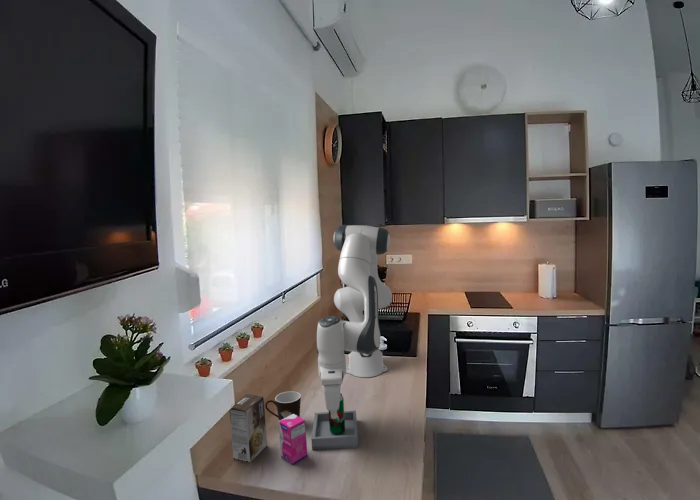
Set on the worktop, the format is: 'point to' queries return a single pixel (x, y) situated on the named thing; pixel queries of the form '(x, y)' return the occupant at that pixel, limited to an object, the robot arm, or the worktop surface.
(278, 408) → the coffee mug
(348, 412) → the tray
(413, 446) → the worktop surface
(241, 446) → the coffee box
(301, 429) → the supplement box
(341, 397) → the soda can
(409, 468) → the worktop surface
